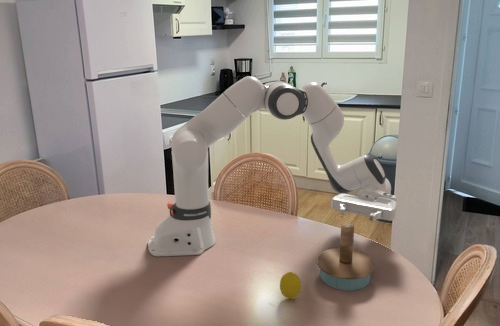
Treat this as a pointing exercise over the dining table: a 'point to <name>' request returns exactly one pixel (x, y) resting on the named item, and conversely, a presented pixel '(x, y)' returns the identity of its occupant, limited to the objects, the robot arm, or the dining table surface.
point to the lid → (346, 258)
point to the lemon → (290, 285)
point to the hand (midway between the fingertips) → (356, 215)
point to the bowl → (344, 282)
